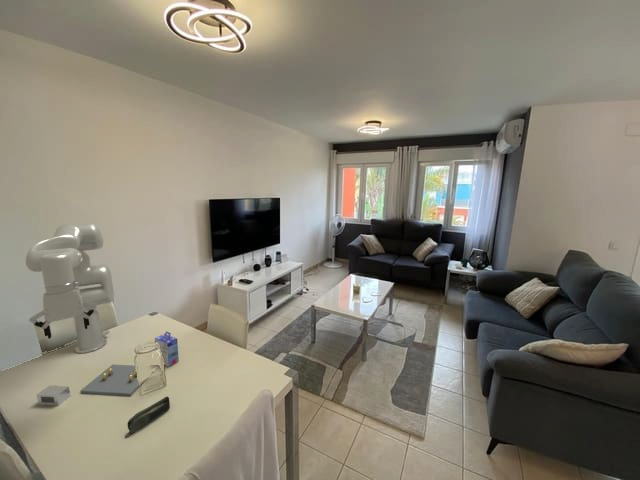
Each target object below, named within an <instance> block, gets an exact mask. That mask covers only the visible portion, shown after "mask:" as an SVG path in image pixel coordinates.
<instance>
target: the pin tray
mask: <svg viewBox="0 0 640 480" xmlns="http://www.w3.org/2000/svg"><path fill="white" fill-rule="evenodd" d="M135 366H136V365H133V364H132V365H129V364H116V363H115V364H111V365H110V366H109V367H108V368H106V369H105V370H104V371H102V373H100V374H99V375H98V376H96V378H94V379H93V380H92V381H90V382H89V383H88V384H87V385H85V386H84V387H83V388H81V390H80V391H79V392H80V394H89V395H105V396H107V395H108V396H121V397H123V396H124V397H132V395H134V393H136V391H138V390H139V388H140V387H139V382H138V380H137V372H136V369H135Z"/></svg>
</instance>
